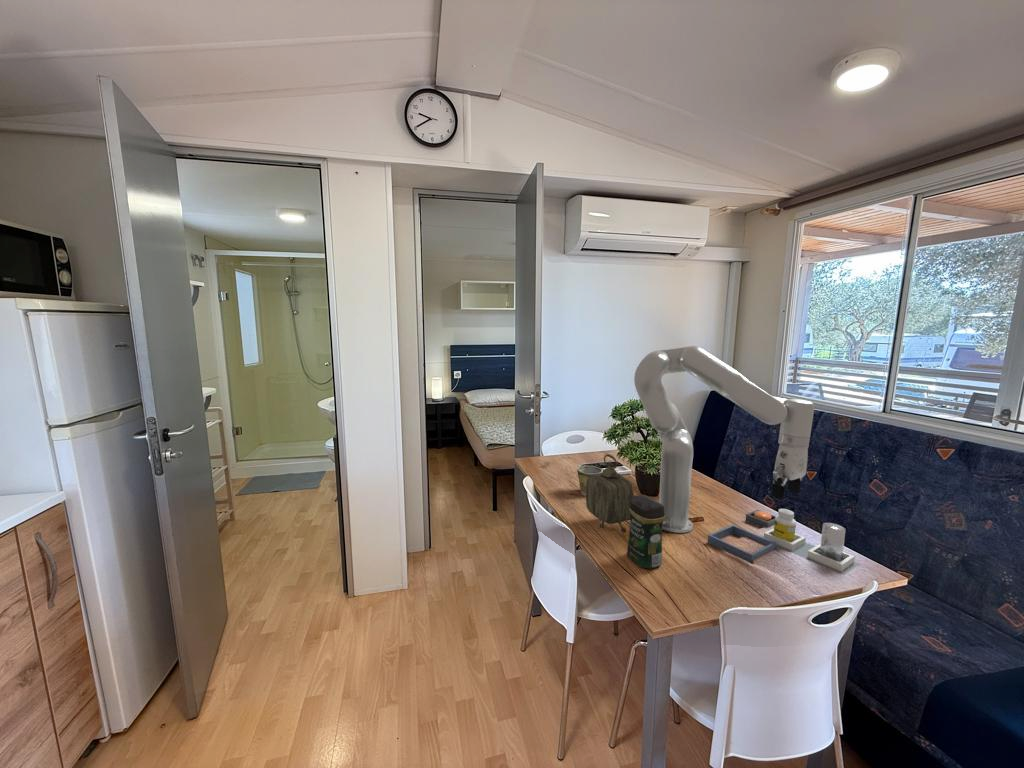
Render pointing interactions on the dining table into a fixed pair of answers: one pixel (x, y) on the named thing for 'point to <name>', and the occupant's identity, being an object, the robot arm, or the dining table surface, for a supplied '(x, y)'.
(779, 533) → the supplement bottle
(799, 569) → the dining table surface
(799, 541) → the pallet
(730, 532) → the rectangular frame
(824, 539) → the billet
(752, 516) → the button housing
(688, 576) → the dining table surface
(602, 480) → the olive drawstring pouch
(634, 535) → the coffee jar
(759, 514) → the button
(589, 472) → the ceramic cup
